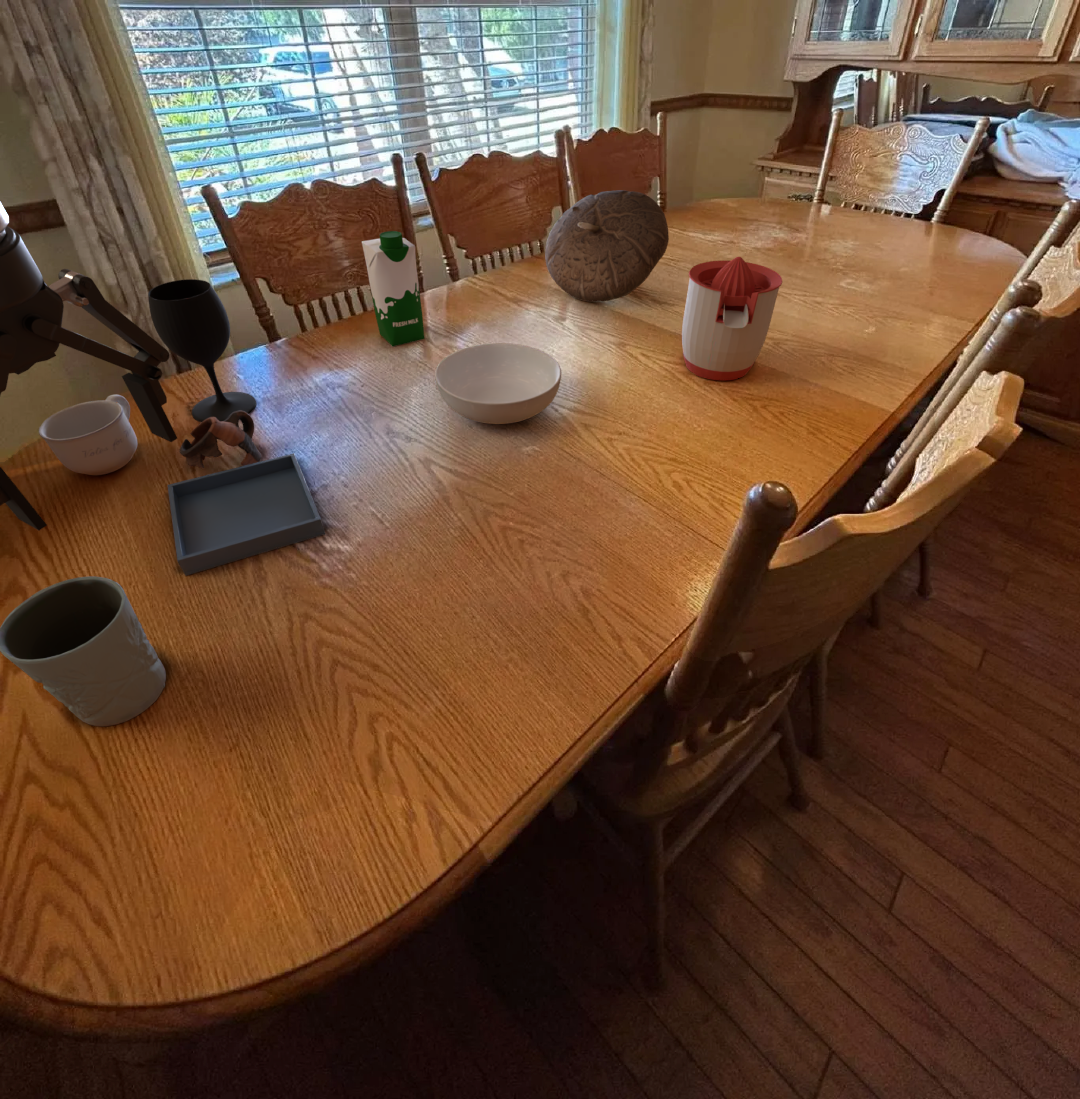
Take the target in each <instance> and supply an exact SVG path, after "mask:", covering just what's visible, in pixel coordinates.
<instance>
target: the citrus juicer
mask: <svg viewBox="0 0 1080 1099" xmlns="http://www.w3.org/2000/svg"><path fill="white" fill-rule="evenodd" d="M688 278H689V279H688V280H689V281H688V287H687V292H686V300H685V306H684V312H683V318H682V327H681V328H682V329H681V345H682V355H683V360H684V364H685V367H686V368H687V370H688V371H690V372H691V373H693V374H694V375H695V376H696V375H697V376H696V377H698V376H699V378H704V379H707V380H714V381H733V380H738V378H739V379H741V378H743V377H744V376H746V375H747V374H748V373H749V371H751V369H752V367H753V366H754V364H755V362H756V360H757V358H758V356H759V355H760V353H761V350H762V349H763V346H764V344H765V342H766V339H767V335H768V333H769V329H770V326H771V323H772V322H771V321H772V317H773V314H774V309H775V306H776V302H777V298H778V294H779V290H780V287H781V286H782V284H783V278H782V276H781V275H780V274H779V273H778V272H777V271H775V270H773V269H771V268H770V267H767V266H764V265H761V264H757V263H752V262H748V261H745V260H744V259H743V257H742V256H735V257H734V258H733V259H731V260H711V261H705V262H700V263H699V264H696V265H694V266H693V267H691V268H690V270H689V271H688Z"/></svg>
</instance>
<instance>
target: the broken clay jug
mask: <svg viewBox="0 0 1080 1099" xmlns="http://www.w3.org/2000/svg"><path fill="white" fill-rule="evenodd" d="M240 422H241V424H242V428H240V424H239V423H240ZM254 432H255V422H254V420H253V417H252V416H251V415H250V414H248V413H246V412H245V411H242V410H238V411H235V412H233V413H231V414H230V415H229V416H228V417H227V419H226V420H224V421H219V420H218V419H217V418H216V417H210V418H207V419H205V420H204V421H203V422H199V423H198V425H197V426H195V427H194V428H193V429H192V430H191V431H190V433H189V434H190V436H191V437H192V438H194V439H193V440H192V441H190V440H189V439H187V438H185V439H184V441H183V442H182V443H181V445H180V447H179V454H180V455H181V456H183V457H184V458H185V460H186V464H187V466H188V467H191V468H193V467H198V468H200V469H202V470H203V469H205V466H204V462H203V461H204V460H205V459H206V457H207V458H220V457H221V456H223V454H224V453H223V452H222V451H221V449H220V448H219V444H218V440H219V441H221V442H223V443H224V444H226V445H227V446H230V447H237V446H238V448H241V449H242V450H243V451H244V452H245V456H244V458H243V459H242V460H241V462H240V465H241V466H245V465H249V464H253V463H257V462H261V459H262V453H261V452H260V451H259V449H258V448H257V446H256V445H255V442H254V441H253V436H254Z"/></svg>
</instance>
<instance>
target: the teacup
mask: <svg viewBox="0 0 1080 1099" xmlns="http://www.w3.org/2000/svg"><path fill="white" fill-rule="evenodd" d="M130 417H131V406H130V403H129V401H128V400H127V398H125V397H124V396H123V395H120V394H110V395H108V396H107V397H106V399H105V400H104V399H103V400H92V401H91V400H90V401H85V402H81V403H76V404H75V405H70V406H68V407H65V408H64V409H61V410H59V411H57V412H55V413H53V414H52V415H50V416H48V417H47V418H46V419H45V420H44V421H43V422H42V423H41V424H40V426H39V427H38V435H39V436H40V438H42V439H43V440H44V441H45V443H46V444H47V446H48V447H49V449H50V450H51V451H52V453H53V454H54V455H55V457H56V458H57V459H58V461H59V462H60V463H61V464H62V465H63V466H64V467H65V468H66V469H68V470H70V471H71V472H74V473H78V474H82V475H87V476H102V475H106V474H107V475H108V474H111V473H113V472H115V471H118V470H120V469H122V468H123V467H125V466H127V465H128V463H129V462H131V460H132V458H133V456H134V455H135V453H136V452H137V449H138V445H139V444H138V438H137V435H136V433H135V430H134V428H133V427H132V424H131V423H130Z"/></svg>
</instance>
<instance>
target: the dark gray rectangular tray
mask: <svg viewBox="0 0 1080 1099" xmlns="http://www.w3.org/2000/svg"><path fill="white" fill-rule="evenodd" d="M296 456H297V455H295V452H294V453H293V452H292V453H289V454H285V455H281V456H277V457H272V458H269V459H265V460H262V461H261V460H260V462H257V463H253V464H249V465H245V466H242V465H241V466H237V467H233V468H229V469H225V470H221V471H217V472H213V473H209V474H206V475H201V476H198V477H193V478H189V479H185V480H180V481H178V482H174V483H170V484H167V492H168V499H169V500H168V501H169V507H170V516H171V522H172V529H173V531H172V532H173V538H174V546H175V553H176V560H177V564H178V565H179V566H180V568H181V570H182V572H183V574H184V576H190V575H194V574H197V573H199V572H203V571H207V570H211V569H213V568H216V567H220V566H224V565H227V564H230V563H233V562H237V561H241V560H244V559H247V558H251V557H254V556H256V555H257V556H258V555H260V554H263V553H266V552H270V551H273V550H277V549H280V548H284V547H287V546H290V545H294V544H297V543H300V542H304V541H307V540H311V539H314V538H317V537H320V536H324V535H326V532H325V531H326V530H325V528H324V524H323V521H322V518H321V515H320V513H319V511H318V508H317V506H316V504H315V501H314V498H313V495H312V494H311V491H310V489H309V485H308V483H307V481H306V479H305V476H304V474H303V471H302V468H301V466H300V464H299V462H298V459H297V457H296Z"/></svg>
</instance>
